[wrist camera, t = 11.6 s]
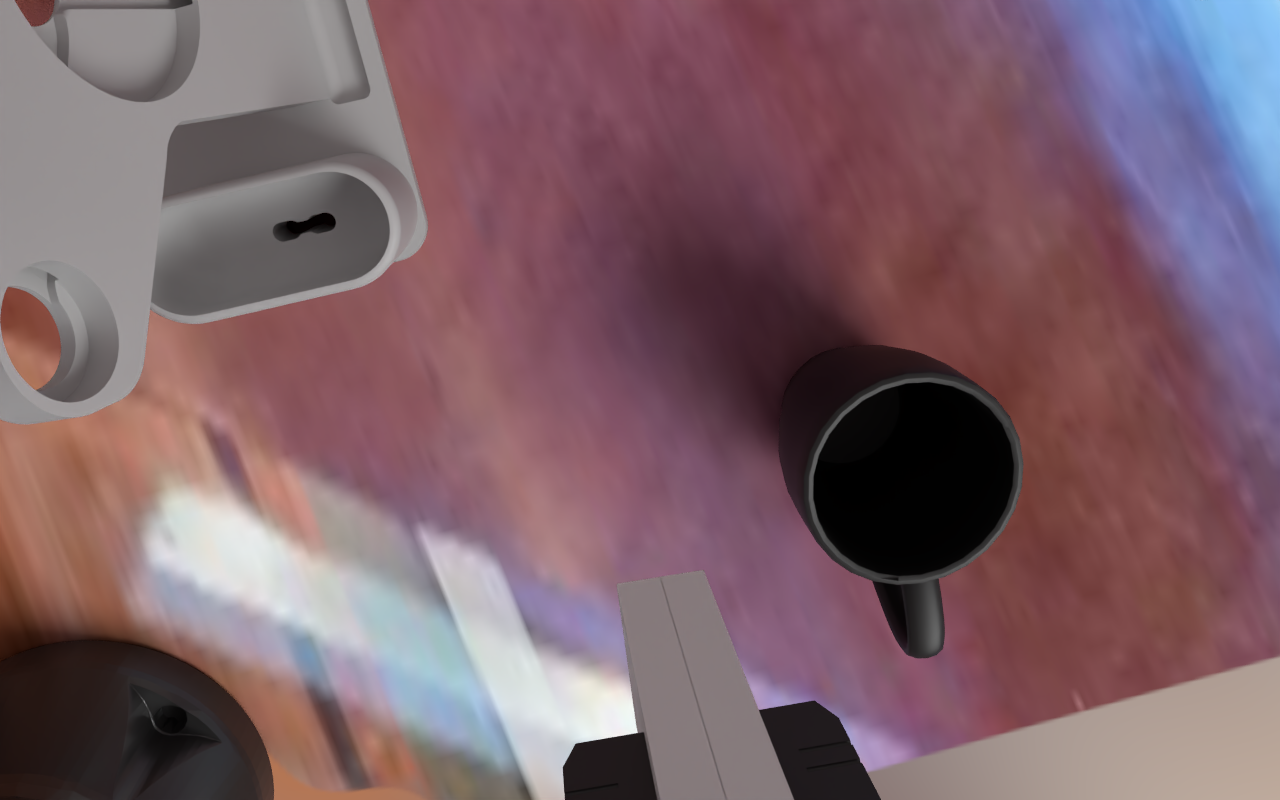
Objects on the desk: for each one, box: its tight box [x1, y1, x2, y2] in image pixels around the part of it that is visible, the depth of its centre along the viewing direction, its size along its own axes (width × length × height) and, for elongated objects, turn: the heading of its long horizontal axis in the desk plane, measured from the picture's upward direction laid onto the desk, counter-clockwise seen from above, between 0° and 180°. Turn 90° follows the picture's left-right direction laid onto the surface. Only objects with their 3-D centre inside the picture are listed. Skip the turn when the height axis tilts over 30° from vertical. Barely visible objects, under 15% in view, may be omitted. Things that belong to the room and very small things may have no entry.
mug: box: [779, 345, 1023, 658], centre depth 43 cm, size 8×12×10 cm
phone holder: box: [0, 0, 428, 424], centre depth 33 cm, size 17×10×18 cm, turn 12°
